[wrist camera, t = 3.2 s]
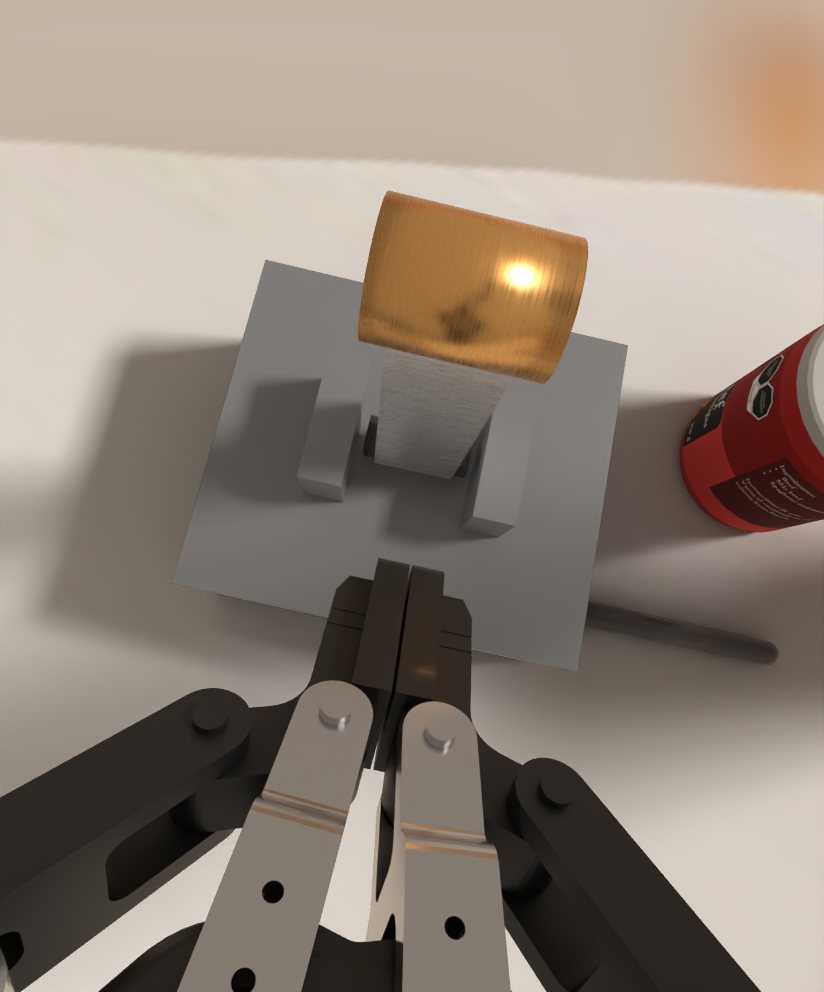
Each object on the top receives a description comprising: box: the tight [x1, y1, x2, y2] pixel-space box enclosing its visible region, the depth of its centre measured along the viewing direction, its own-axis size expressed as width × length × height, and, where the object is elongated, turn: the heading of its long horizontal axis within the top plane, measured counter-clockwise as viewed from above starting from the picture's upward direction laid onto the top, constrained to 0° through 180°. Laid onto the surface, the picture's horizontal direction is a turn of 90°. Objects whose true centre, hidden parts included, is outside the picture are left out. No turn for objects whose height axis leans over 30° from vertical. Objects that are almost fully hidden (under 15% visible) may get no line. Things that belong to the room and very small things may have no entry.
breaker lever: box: [358, 191, 588, 480], centre depth 19 cm, size 4×3×14 cm
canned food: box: [680, 324, 824, 532], centre depth 31 cm, size 8×8×11 cm
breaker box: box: [172, 260, 779, 672], centre depth 30 cm, size 29×14×11 cm, turn 78°
